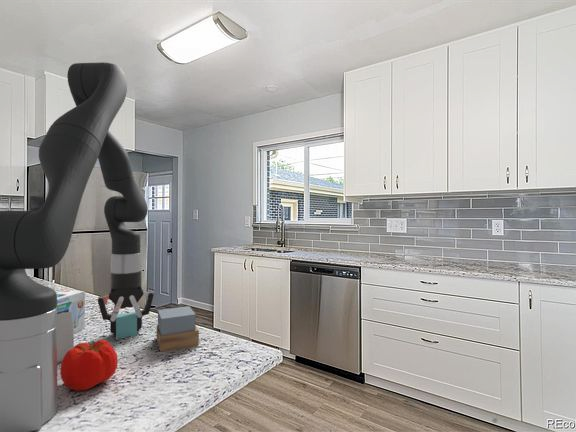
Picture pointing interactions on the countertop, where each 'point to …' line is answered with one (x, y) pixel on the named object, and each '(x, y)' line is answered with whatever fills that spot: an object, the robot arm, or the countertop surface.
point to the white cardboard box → (64, 334)
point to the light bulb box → (72, 307)
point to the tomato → (88, 365)
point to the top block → (176, 320)
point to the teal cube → (126, 325)
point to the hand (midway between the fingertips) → (126, 332)
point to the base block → (177, 340)
